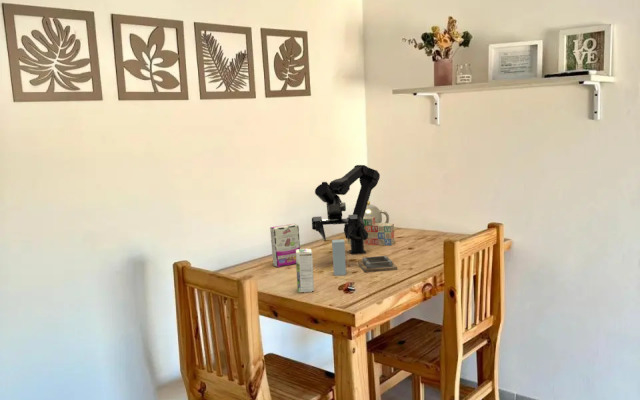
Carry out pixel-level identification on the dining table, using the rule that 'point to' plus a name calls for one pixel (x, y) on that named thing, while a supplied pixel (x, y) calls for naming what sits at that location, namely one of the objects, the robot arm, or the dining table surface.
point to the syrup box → (304, 270)
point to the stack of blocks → (378, 232)
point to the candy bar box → (284, 244)
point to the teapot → (375, 213)
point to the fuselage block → (339, 257)
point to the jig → (377, 264)
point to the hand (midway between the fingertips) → (336, 239)
